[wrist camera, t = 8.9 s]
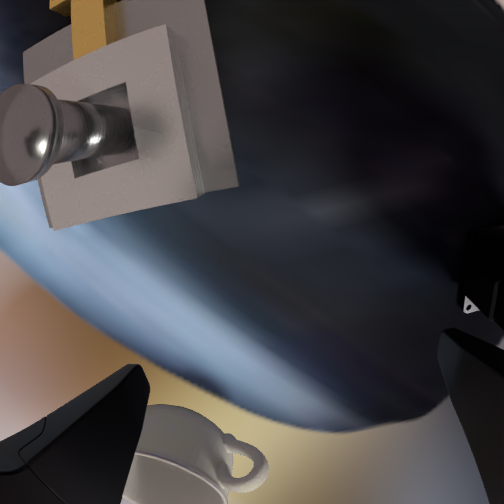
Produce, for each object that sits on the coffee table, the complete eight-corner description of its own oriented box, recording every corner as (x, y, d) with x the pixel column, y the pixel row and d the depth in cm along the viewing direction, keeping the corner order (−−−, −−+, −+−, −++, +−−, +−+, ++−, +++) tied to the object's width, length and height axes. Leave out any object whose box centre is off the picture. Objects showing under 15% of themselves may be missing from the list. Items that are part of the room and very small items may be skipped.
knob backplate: (195, -54, 13) (186, -72, 11) (240, 185, 19) (234, 191, 16) (27, 20, 15) (8, 14, 13) (54, 226, 20) (34, 236, 18)
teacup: (150, 454, 29) (130, 512, 21) (108, 383, 25) (71, 447, 18) (279, 456, 27) (278, 524, 19) (263, 380, 23) (257, 464, 16)
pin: (136, 91, 17) (42, 66, 8) (148, 153, 18) (56, 169, 9) (82, 111, 17) (-21, 108, 9) (93, 169, 18) (-8, 196, 10)
